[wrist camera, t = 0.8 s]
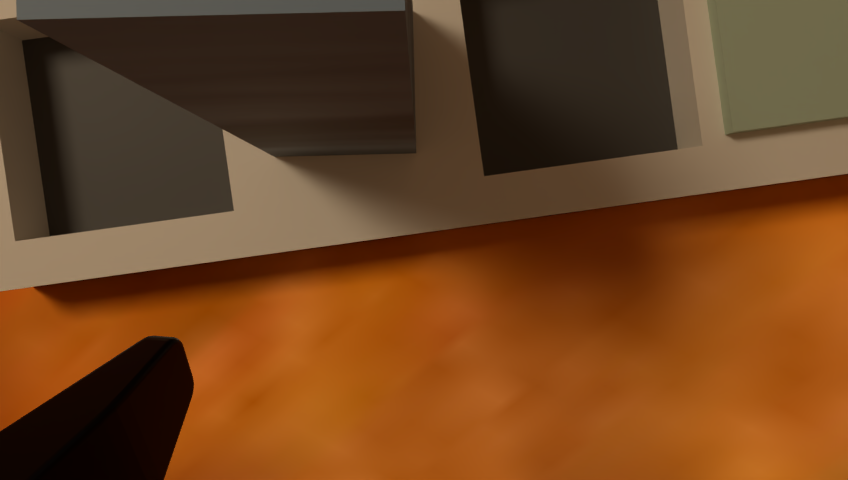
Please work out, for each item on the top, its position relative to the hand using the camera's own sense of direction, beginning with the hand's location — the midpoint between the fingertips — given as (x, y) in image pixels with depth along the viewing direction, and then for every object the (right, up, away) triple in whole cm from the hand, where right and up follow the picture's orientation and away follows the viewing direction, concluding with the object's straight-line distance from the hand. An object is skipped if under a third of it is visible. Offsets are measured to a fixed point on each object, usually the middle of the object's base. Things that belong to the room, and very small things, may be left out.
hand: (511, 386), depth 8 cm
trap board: (0, +7, +13) cm, 15 cm away
